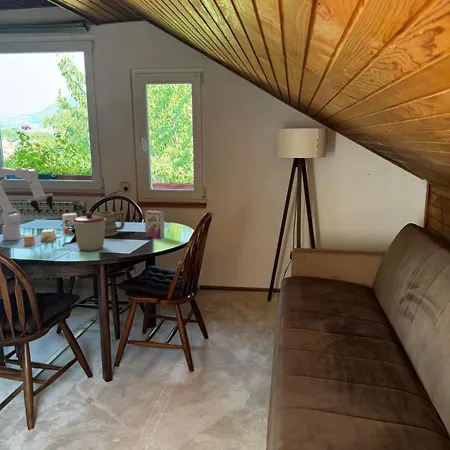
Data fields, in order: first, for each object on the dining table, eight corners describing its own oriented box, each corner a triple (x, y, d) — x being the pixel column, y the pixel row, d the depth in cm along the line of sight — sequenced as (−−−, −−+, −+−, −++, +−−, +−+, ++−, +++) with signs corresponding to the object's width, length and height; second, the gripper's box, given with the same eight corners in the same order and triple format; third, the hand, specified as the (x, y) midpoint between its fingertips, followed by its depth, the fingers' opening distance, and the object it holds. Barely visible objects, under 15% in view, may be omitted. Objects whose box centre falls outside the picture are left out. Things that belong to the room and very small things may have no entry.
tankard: (98, 237, 263) (96, 213, 260) (95, 232, 275) (94, 210, 272) (130, 234, 271) (129, 211, 268) (126, 230, 283) (125, 208, 279)
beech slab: (40, 241, 253) (40, 237, 252) (43, 239, 260) (43, 234, 259) (53, 241, 254) (52, 236, 253) (55, 238, 261) (55, 234, 260)
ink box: (65, 233, 274) (63, 215, 272) (63, 231, 278) (61, 214, 276) (78, 231, 279) (77, 213, 276) (76, 230, 283) (75, 212, 280)
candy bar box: (145, 237, 262) (144, 211, 259) (149, 235, 267) (148, 210, 264) (160, 239, 258) (159, 212, 254) (164, 237, 262) (164, 211, 259)
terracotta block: (24, 245, 244) (23, 236, 242) (26, 243, 248) (25, 235, 247) (32, 245, 244) (31, 236, 243) (34, 243, 249) (34, 234, 248)
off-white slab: (41, 236, 253) (41, 231, 253) (44, 234, 259) (44, 229, 258) (52, 236, 254) (52, 231, 253) (54, 234, 260) (54, 229, 259)
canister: (108, 251, 230) (106, 213, 226) (73, 254, 225) (70, 215, 221) (107, 243, 247) (105, 208, 243) (74, 246, 242) (72, 209, 238)
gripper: (27, 190, 238) (36, 213, 239) (51, 184, 248) (59, 206, 249) (22, 193, 243) (31, 215, 244) (46, 187, 253) (55, 208, 254)
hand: (45, 211), depth 247 cm, fingers open, 7 cm apart
